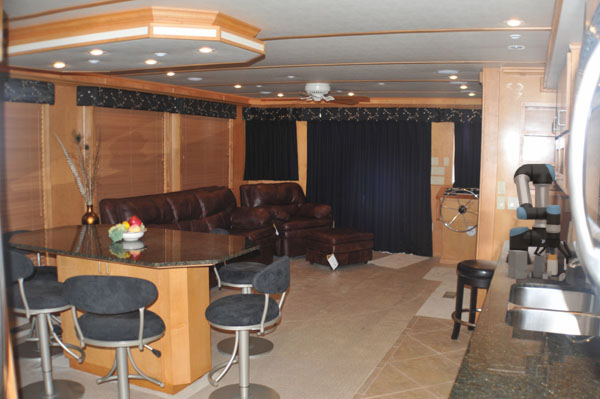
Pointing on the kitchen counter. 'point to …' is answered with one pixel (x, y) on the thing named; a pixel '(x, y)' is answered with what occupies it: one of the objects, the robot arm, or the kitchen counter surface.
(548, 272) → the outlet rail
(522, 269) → the skincare box
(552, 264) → the plug
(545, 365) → the kitchen counter surface
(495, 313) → the kitchen counter surface
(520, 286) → the kitchen counter surface
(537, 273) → the twin plug
